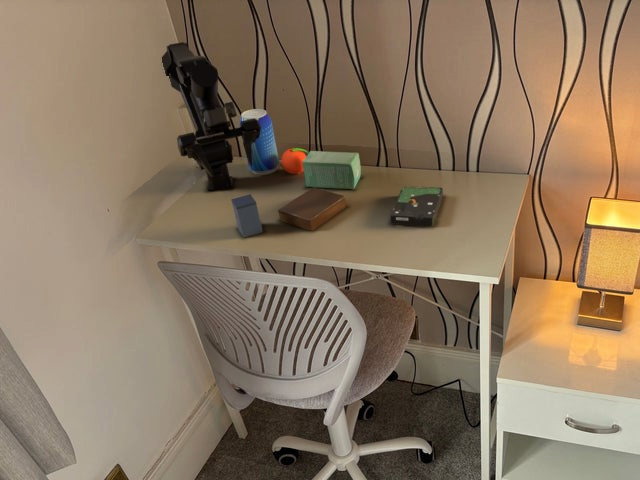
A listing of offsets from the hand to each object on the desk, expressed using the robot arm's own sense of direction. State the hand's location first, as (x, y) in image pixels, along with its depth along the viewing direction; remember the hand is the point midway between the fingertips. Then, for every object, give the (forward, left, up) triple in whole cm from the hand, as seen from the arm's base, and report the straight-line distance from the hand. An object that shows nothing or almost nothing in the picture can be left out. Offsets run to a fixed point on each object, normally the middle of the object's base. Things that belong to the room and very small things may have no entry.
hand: (232, 170), depth 142 cm
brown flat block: (+1, +17, -13) cm, 21 cm away
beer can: (-28, +5, -13) cm, 32 cm away
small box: (+5, +1, -13) cm, 14 cm away
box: (-14, +23, -13) cm, 30 cm away
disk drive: (+7, +41, -13) cm, 44 cm away
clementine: (-23, +14, -13) cm, 30 cm away
